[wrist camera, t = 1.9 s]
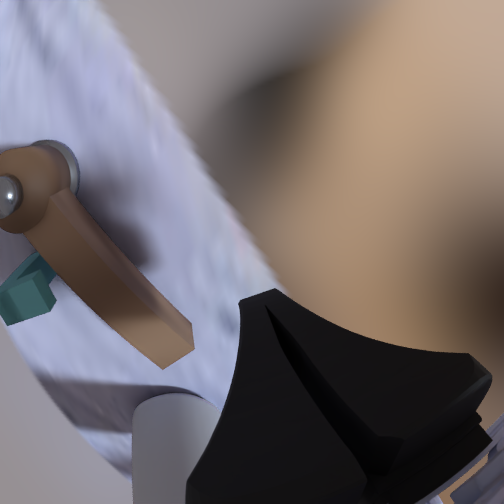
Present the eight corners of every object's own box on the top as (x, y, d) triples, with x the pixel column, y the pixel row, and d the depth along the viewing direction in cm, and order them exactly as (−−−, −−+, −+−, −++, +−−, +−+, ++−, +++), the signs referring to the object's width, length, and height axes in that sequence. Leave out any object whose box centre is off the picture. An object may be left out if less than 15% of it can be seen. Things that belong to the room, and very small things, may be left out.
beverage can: (117, 415, 17) (119, 565, 6) (166, 372, 16) (188, 564, 5) (185, 442, 20) (210, 570, 9) (238, 406, 19) (288, 554, 8)
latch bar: (4, 179, 9) (-26, 191, 7) (45, 130, 9) (17, 130, 7) (154, 345, 14) (154, 379, 12) (200, 313, 14) (205, 346, 12)
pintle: (89, 199, 11) (53, 228, 8) (32, 226, 11) (-13, 262, 7) (67, 127, 10) (21, 125, 6) (10, 159, 10) (-43, 173, 6)
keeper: (80, 263, 12) (50, 311, 8) (42, 278, 12) (7, 326, 8) (69, 237, 12) (32, 279, 8) (30, 254, 11) (-10, 297, 8)
